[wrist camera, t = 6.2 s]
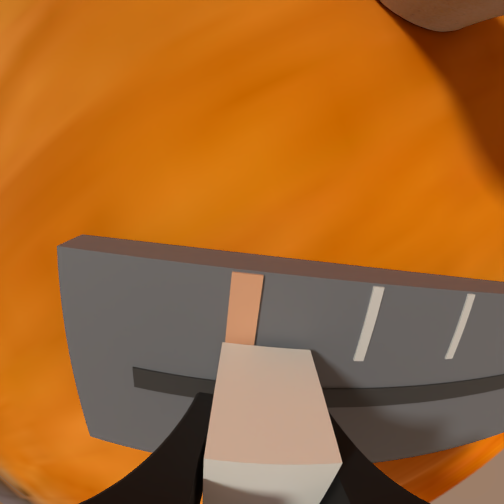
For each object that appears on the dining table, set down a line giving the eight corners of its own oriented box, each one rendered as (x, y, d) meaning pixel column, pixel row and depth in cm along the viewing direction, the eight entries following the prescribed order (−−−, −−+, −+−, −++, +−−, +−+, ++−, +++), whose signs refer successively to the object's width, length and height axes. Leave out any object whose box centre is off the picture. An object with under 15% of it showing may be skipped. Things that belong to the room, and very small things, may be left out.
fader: (285, 443, 12) (294, 540, 7) (214, 437, 12) (202, 536, 7) (310, 349, 10) (342, 463, 6) (222, 342, 10) (203, 458, 5)
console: (494, 414, 15) (507, 431, 13) (103, 412, 14) (89, 437, 12) (551, 287, 13) (572, 298, 10) (82, 234, 12) (55, 246, 10)
